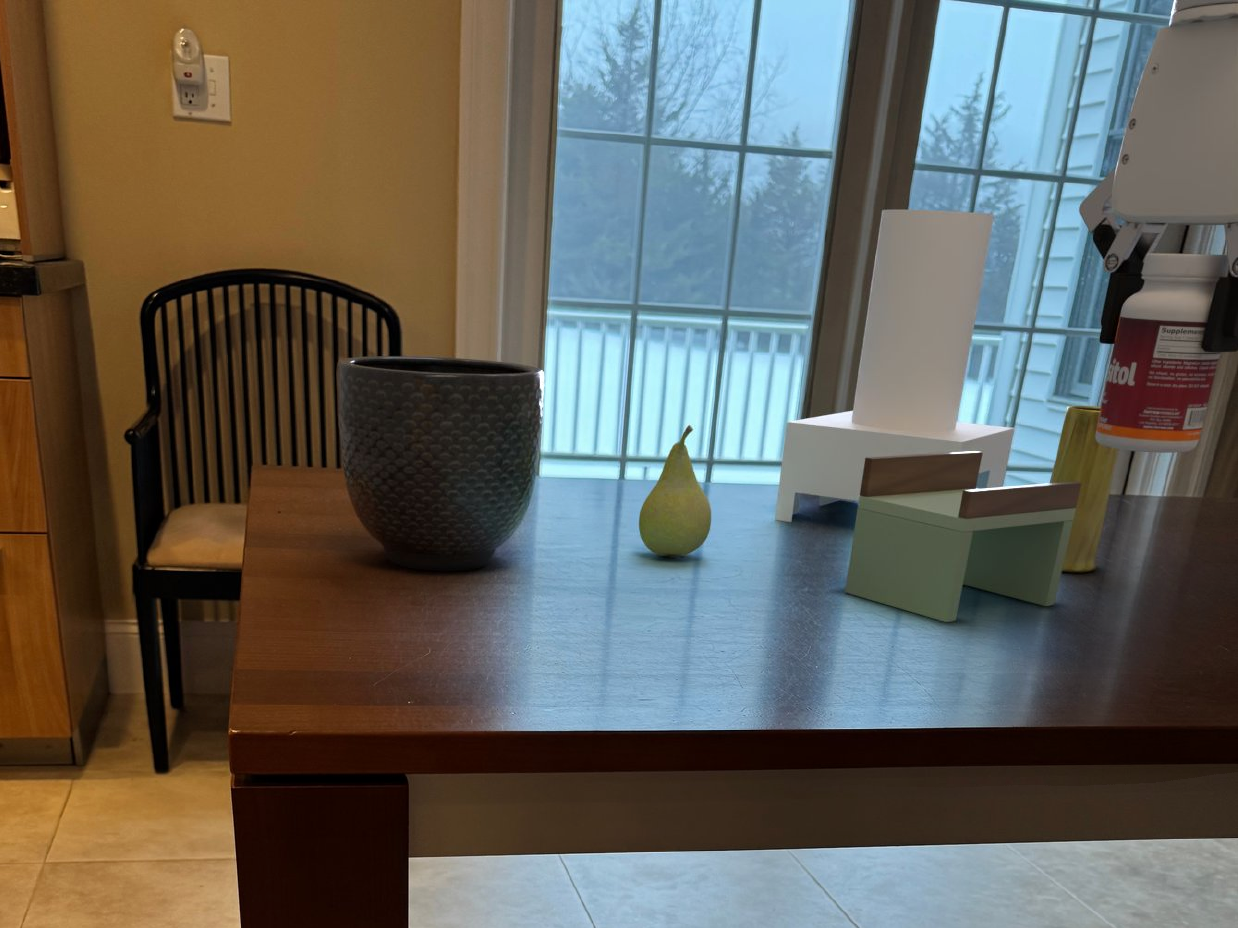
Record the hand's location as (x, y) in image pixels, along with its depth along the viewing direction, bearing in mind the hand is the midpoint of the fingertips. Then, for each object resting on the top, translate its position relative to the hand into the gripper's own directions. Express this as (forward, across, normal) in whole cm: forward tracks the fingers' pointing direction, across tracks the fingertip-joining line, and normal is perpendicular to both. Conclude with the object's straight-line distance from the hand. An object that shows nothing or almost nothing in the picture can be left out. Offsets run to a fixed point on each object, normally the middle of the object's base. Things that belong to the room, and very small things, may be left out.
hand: (1167, 344), depth 80 cm
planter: (+21, +50, +23) cm, 59 cm away
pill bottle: (+6, 0, 0) cm, 6 cm away
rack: (+21, +21, -10) cm, 32 cm away
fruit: (+21, +43, +2) cm, 48 cm away
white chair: (+22, +49, -34) cm, 64 cm away
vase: (+22, +25, -32) cm, 46 cm away
